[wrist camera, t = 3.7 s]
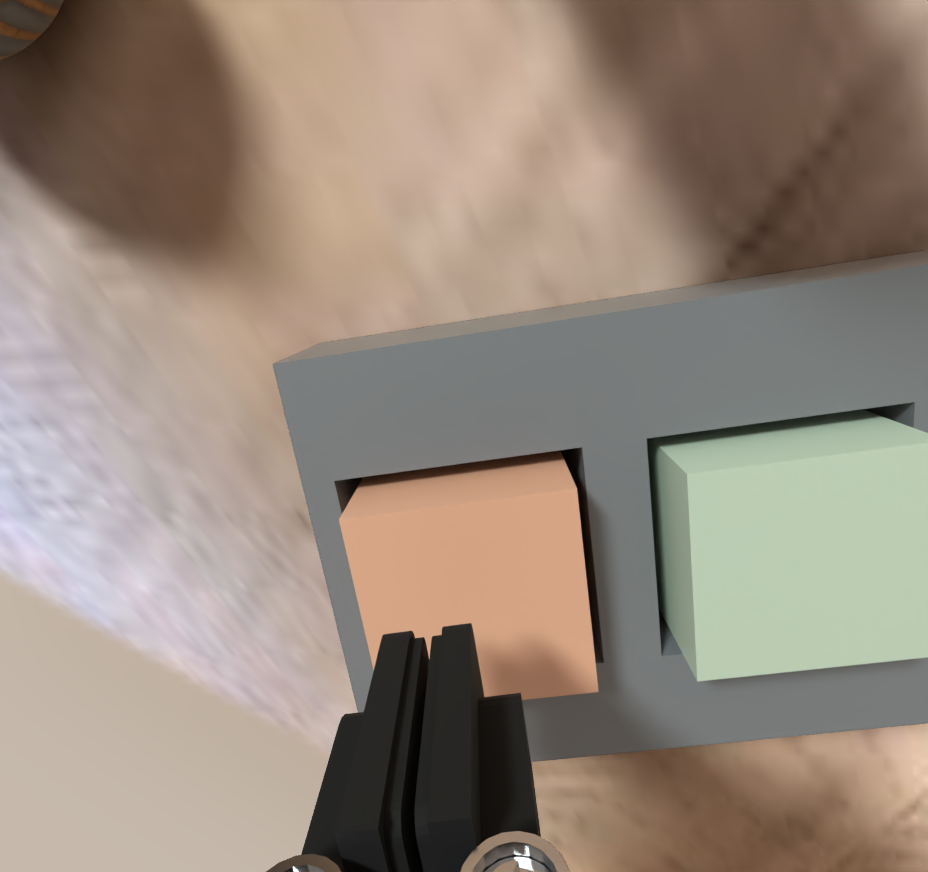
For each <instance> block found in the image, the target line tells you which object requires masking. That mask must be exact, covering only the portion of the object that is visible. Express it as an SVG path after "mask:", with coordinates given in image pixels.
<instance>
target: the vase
mask: <svg viewBox="0 0 928 872" xmlns="http://www.w3.org/2000/svg"><path fill="white" fill-rule="evenodd" d="M63 1H64V0H0V60H1V59H5V58H7V57H10V56H12V55H14V54H16V53H18V52H20V51H21V50H23V49H25V48H26V47H28V46H29V45H30V44H31V43H33V42H34V41H35V40H36V39H37V38H38V37H39V36H40V35H41V34H42V33H43V32H45V30H46V29H47V28H48V27H49V26H50V24H51V23H52V22H53V20H54V19H55V17H56V15H57V13H58V12H59V10H60V8H61V5H62V3H63Z"/></svg>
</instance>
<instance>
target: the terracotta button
mask: <svg viewBox="0 0 928 872" xmlns="http://www.w3.org/2000/svg"><path fill="white" fill-rule="evenodd" d="M339 523H340V527H341V531H342V536H343V540H344V544H345V549H346V553H347V557H348V562H349V566H350V570H351V575H352V579H353V583H354V588H355V592H356V596H357V601H358V605H359V609H360V614H361V618H362V622H363V627H364V631H365V635H366V640H367V644H368V648H369V653H370V657H371V661H372V666H373V670H374V667H375V663H376V659H377V655H378V651H379V647H380V642H381V638H382V636H383V635H384V634H390V633H397V632H405V631H413V633H414V635H415V638H421V637H424V638H425V641H426V645H427V650H428V655H429V659H430V649H431V640H432V636H437V635H442V627H444V626H451V625H459V624H467V623H471V624H472V627H473V632H474V638H475V644H476V650H477V656H478V662H479V668H480V673H481V679H482V685H483V691H484V697H490V696H498V695H506V694H514V693H521V697H522V700H527V699H537V698H546V697H556V696H565V695H575V694H584V693H594V692H599V691H598V682H597V672H596V663H595V653H594V644H593V634H592V625H591V616H590V606H589V597H588V587H587V578H586V568H585V559H584V550H583V540H582V531H581V521H580V512H579V502H578V493H577V487H576V485H575V483H574V481H573V478H572V476H571V474H570V471H569V469H568V467H567V465H566V462H565V460H564V458H563V456H562V453H561V451H560V450H558V451H551V452H544V453H536V454H529V455H522V456H514V457H507V458H499V459H492V460H485V461H477V462H470V463H463V464H455V465H448V466H441V467H433V468H426V469H418V470H411V471H404V472H396V473H389V474H382V475H374V476H367V477H363V479H362V480H361V482H360V484H359V486H358V487H357V489H356V491H355V493H354V494H353V496H352V498H351V499H350V501H349V503H348V505H347V506H346V508H345V510H344V512H343V513H342V515H341V517H340V518H339Z"/></svg>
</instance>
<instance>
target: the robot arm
mask: <svg viewBox="0 0 928 872" xmlns="http://www.w3.org/2000/svg"><path fill="white" fill-rule="evenodd" d="M267 872H570V870H569V868H568V866H567V864H566V862H565V860H564V858H563V856H562V854H561V853H560V852H559V851H558V850H557V849H556V848H555V847H554V846H553V845H552V844H551V843H550V842H549V841H547V840H545V839H543V838H541V835H540V827H539V819H538V811H537V804H536V796H535V788H534V780H533V773H532V765H531V758H530V751H529V744H528V737H527V730H526V723H525V717H524V710H523V703H522V697H521V693H514V694H506V695H498V696H490V697H484V691H483V685H482V679H481V673H480V668H479V662H478V656H477V650H476V644H475V638H474V632H473V627H472V624H471V623H467V624H459V625H451V626H444V627H442V635H437V636H432V640H431V649H430V659H429V655H428V650H427V645H426V641H425V638H424V637H421V638H415V635H414V633H413V631H405V632H397V633H390V634H384V635H383V636H382V638H381V642H380V647H379V651H378V655H377V659H376V663H375V667H374V671H373V676H372V680H371V684H370V688H369V692H368V696H367V700H366V705H365V709H364V712H360V713H352V714H345V715H344V716H343V717H342V719H341V721H340V724H339V727H338V730H337V733H336V737H335V740H334V744H333V747H332V751H331V754H330V758H329V761H328V765H327V768H326V772H325V775H324V779H323V782H322V785H321V789H320V792H319V796H318V799H317V803H316V806H315V809H314V813H313V816H312V820H311V823H310V827H309V830H308V834H307V837H306V840H305V844H304V847H303V851H302V854H301V855H298V856H294V857H292V858H289V859H287V860H284V861H282V862H280V863H278V864H277V865H275V866H274V867H272V868H271V869H269V870H268V871H267Z"/></svg>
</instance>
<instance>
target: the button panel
mask: <svg viewBox="0 0 928 872" xmlns="http://www.w3.org/2000/svg"><path fill="white" fill-rule="evenodd" d="M273 368H274V372H275V376H276V380H277V384H278V388H279V392H280V396H281V401H282V405H283V409H284V413H285V417H286V421H287V425H288V429H289V433H290V437H291V441H292V445H293V449H294V453H295V458H296V462H297V466H298V470H299V474H300V478H301V482H302V486H303V490H304V494H305V498H306V502H307V506H308V510H309V515H310V519H311V523H312V527H313V531H314V535H315V539H316V543H317V547H318V551H319V555H320V559H321V563H322V567H323V572H324V576H325V580H326V584H327V588H328V592H329V596H330V600H331V604H332V608H333V612H334V616H335V620H336V624H337V629H338V633H339V637H340V641H341V645H342V649H343V653H344V657H345V661H346V665H347V669H348V673H349V677H350V681H351V686H352V690H353V694H354V698H355V702H356V706H357V710H358V713H360V712H364V709H365V705H366V700H367V696H368V692H369V688H370V684H371V680H372V676H373V671H374V670H373V666H372V661H371V657H370V653H369V648H368V644H367V640H366V635H365V631H364V627H363V622H362V618H361V614H360V609H359V605H358V601H357V596H356V592H355V588H354V583H353V579H352V575H351V570H350V566H349V562H348V557H347V553H346V549H345V544H344V540H343V536H342V531H341V527H340V523H339V518H340V517H341V515H342V513H343V512H344V510H345V508H346V506H347V505H348V503H349V501H350V499H351V498H352V496H353V494H354V493H355V491H356V489H357V487H358V486H359V484H360V482H361V480H362V479H363V477H367V476H374V475H382V474H389V473H396V472H404V471H411V470H418V469H426V468H433V467H441V466H448V465H455V464H463V463H470V462H477V461H485V460H492V459H499V458H507V457H514V456H522V455H529V454H536V453H544V452H551V451H558V450H564V451H565V460H566V465H567V467H568V469H569V471H570V474H571V476H572V478H573V481H574V483H575V485H576V487H577V493H578V502H579V512H580V521H581V531H582V540H583V550H584V559H585V568H586V578H587V587H588V597H589V606H590V616H591V625H592V634H593V644H594V653H595V663H596V672H597V682H598V691H599V692H594V693H584V694H575V695H565V696H556V697H546V698H537V699H527V700H522V703H523V710H524V717H525V723H526V730H527V737H528V744H529V751H530V758H531V762H535V761H545V760H556V759H566V758H576V757H586V756H597V755H607V754H617V753H628V752H638V751H648V750H658V749H669V748H679V747H689V746H699V745H710V744H720V743H730V742H740V741H751V740H761V739H771V738H781V737H792V736H802V735H812V734H822V733H833V732H843V731H853V730H864V729H874V728H884V727H894V726H905V725H915V724H925V723H928V657H926V658H916V659H907V660H897V661H888V662H878V663H869V664H859V665H850V666H840V667H831V668H821V669H812V670H802V671H793V672H783V673H774V674H764V675H755V676H745V677H736V678H727V679H717V680H708V681H698V682H697V680H696V678H695V676H694V674H693V672H692V670H691V668H690V667H689V665H688V663H687V661H686V659H685V657H684V655H683V653H682V651H681V649H680V648H679V646H678V644H677V642H676V640H675V638H674V636H673V634H672V632H671V630H670V629H669V627H668V625H667V623H666V621H665V619H664V617H663V615H662V613H661V612H660V610H659V608H658V596H657V582H656V567H655V553H654V538H653V524H652V509H651V495H650V480H649V466H648V451H647V438H654V437H661V436H669V435H676V434H684V433H691V432H698V431H706V430H713V429H720V428H728V427H735V426H742V425H750V424H757V423H765V422H772V421H779V420H787V419H794V418H801V417H809V416H816V415H824V414H831V413H838V412H846V411H853V410H860V409H862V410H865V411H868V412H871V413H874V414H876V415H879V416H882V417H885V418H887V419H890V420H893V421H896V422H898V423H901V424H904V425H907V426H910V427H912V428H915V429H918V430H921V431H923V432H926V433H928V250H923V251H916V252H910V253H903V254H897V255H890V256H884V257H877V258H871V259H864V260H858V261H851V262H845V263H838V264H832V265H825V266H819V267H812V268H806V269H799V270H793V271H786V272H780V273H773V274H767V275H760V276H754V277H747V278H741V279H734V280H728V281H721V282H715V283H708V284H702V285H695V286H689V287H682V288H676V289H669V290H663V291H656V292H650V293H643V294H637V295H630V296H624V297H617V298H611V299H604V300H598V301H591V302H585V303H578V304H572V305H565V306H558V307H552V308H545V309H539V310H532V311H526V312H519V313H513V314H506V315H500V316H493V317H487V318H480V319H474V320H467V321H461V322H454V323H448V324H441V325H435V326H428V327H422V328H415V329H409V330H402V331H396V332H389V333H383V334H376V335H370V336H363V337H357V338H350V339H344V340H337V341H331V342H324V343H319V344H317V345H315V346H312V347H310V348H308V349H306V350H303V351H301V352H299V353H296V354H294V355H292V356H290V357H287V358H285V359H283V360H280V361H278V362H276V363H274V364H273Z"/></svg>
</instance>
